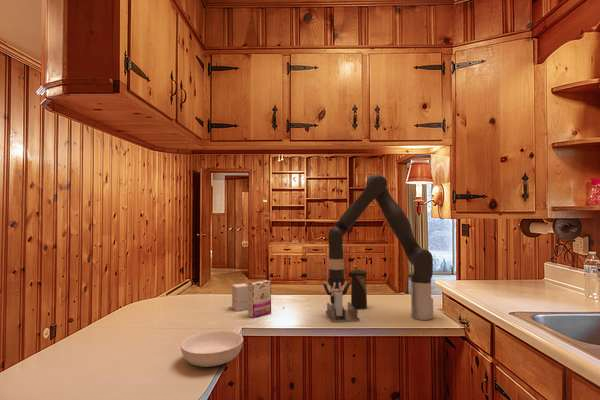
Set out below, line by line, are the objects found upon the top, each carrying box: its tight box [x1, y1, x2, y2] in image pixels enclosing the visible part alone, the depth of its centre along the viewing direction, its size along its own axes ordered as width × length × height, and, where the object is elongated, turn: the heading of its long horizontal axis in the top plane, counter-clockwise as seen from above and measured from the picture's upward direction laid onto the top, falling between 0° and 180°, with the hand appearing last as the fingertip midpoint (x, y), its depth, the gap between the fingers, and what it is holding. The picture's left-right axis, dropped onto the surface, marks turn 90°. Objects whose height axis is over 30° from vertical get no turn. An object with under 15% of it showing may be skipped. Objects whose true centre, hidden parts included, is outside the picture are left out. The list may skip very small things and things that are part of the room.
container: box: [349, 269, 368, 310], centre depth 184 cm, size 9×9×20 cm
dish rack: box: [325, 301, 360, 323], centre depth 168 cm, size 13×16×5 cm
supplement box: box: [231, 283, 248, 312], centre depth 182 cm, size 7×7×13 cm
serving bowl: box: [180, 329, 244, 368], centre depth 119 cm, size 21×21×7 cm
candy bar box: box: [247, 279, 272, 319], centre depth 171 cm, size 11×5×16 cm, turn 132°
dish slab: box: [330, 289, 343, 316], centre depth 167 cm, size 3×12×10 cm, turn 7°
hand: (336, 303), depth 167 cm, fingers closed on dish slab, 3 cm apart
